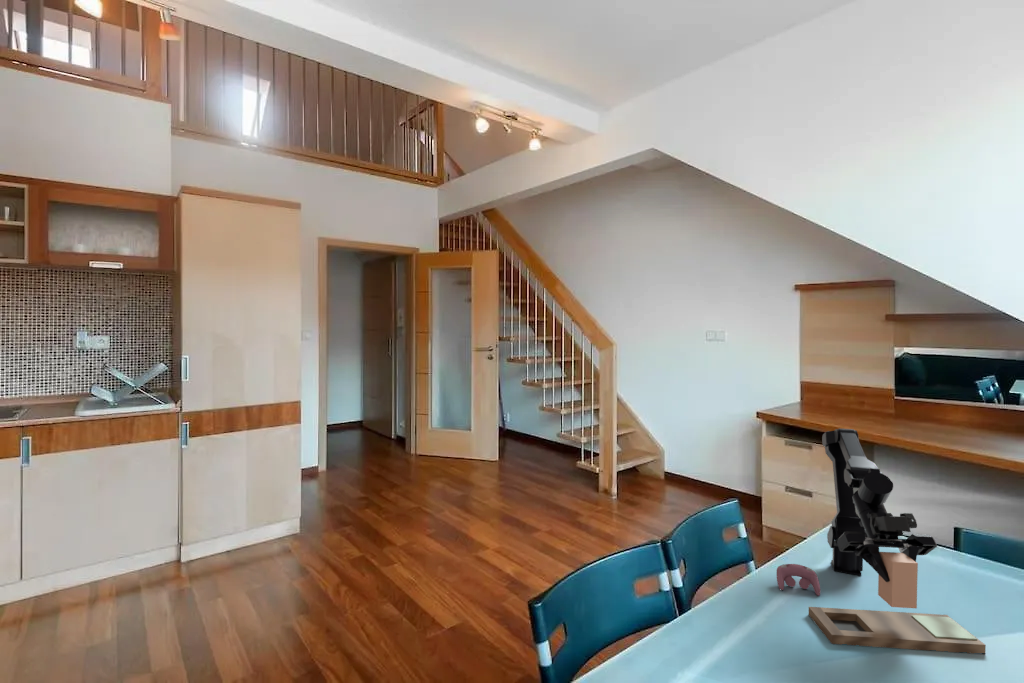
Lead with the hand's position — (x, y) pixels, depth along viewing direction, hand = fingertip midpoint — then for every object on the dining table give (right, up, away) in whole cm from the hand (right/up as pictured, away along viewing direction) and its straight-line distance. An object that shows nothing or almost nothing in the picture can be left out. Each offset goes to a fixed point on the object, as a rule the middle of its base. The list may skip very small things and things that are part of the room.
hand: (901, 582), depth 111 cm
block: (0, -5, +2) cm, 5 cm away
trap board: (0, -12, +2) cm, 12 cm away
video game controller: (-11, -12, +21) cm, 27 cm away
